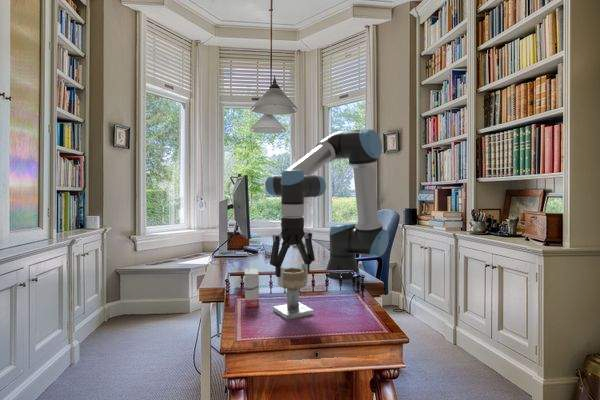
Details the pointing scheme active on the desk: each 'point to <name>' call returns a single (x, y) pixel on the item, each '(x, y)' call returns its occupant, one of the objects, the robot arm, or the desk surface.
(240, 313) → the desk surface
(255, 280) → the ink box
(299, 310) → the post
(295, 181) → the robot arm
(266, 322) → the desk surface
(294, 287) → the collar
